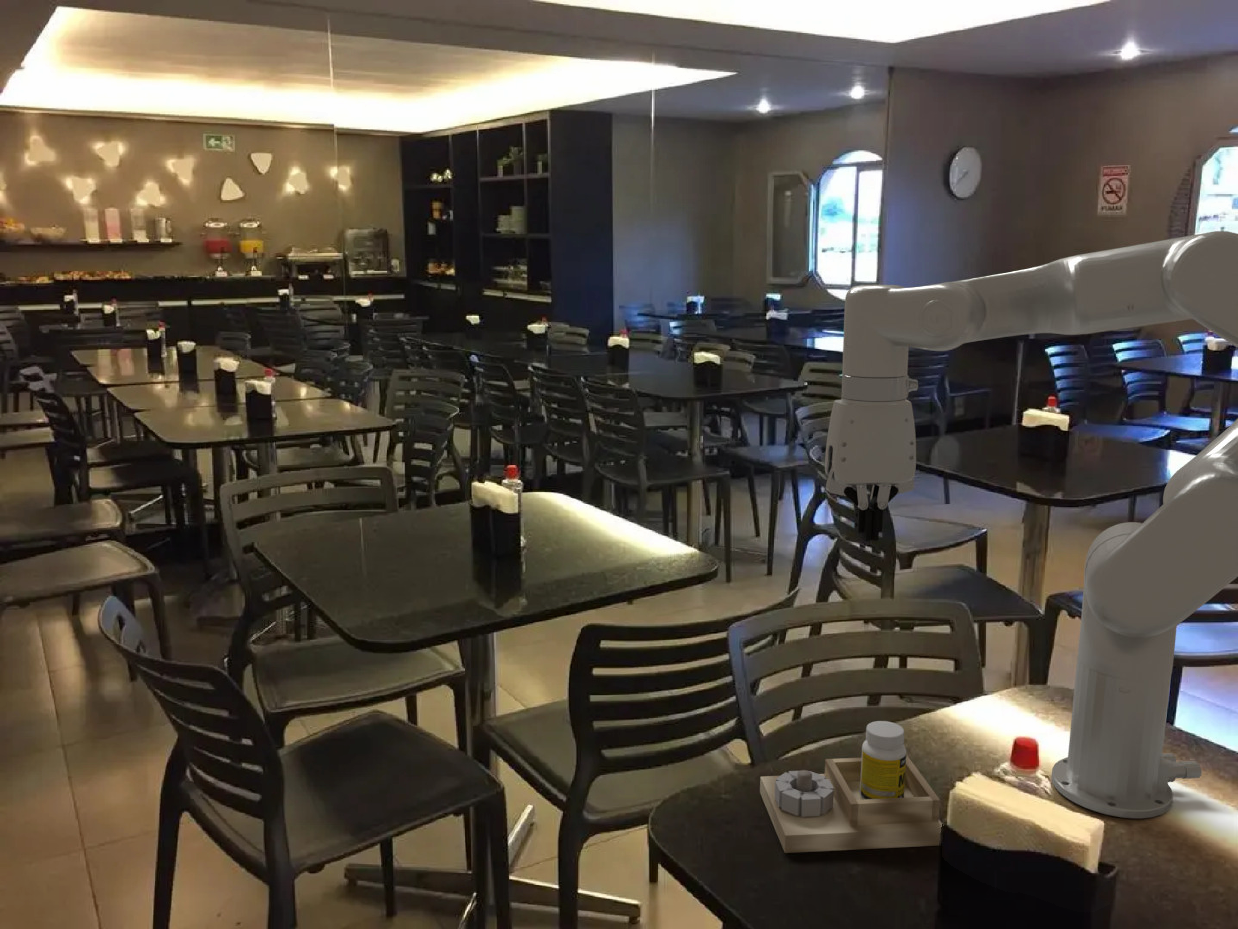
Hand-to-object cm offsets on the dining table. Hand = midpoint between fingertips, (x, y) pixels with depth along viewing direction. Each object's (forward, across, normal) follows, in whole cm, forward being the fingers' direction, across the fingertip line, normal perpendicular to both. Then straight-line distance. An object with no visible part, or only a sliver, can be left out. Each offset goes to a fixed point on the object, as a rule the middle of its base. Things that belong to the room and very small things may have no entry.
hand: (867, 538), depth 122 cm
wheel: (+25, +12, +17) cm, 32 cm away
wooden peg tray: (+27, +7, +17) cm, 33 cm away
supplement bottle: (+25, +3, +17) cm, 31 cm away
